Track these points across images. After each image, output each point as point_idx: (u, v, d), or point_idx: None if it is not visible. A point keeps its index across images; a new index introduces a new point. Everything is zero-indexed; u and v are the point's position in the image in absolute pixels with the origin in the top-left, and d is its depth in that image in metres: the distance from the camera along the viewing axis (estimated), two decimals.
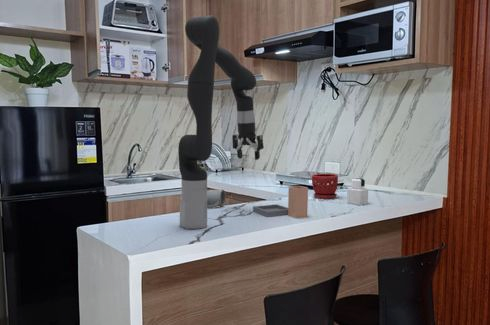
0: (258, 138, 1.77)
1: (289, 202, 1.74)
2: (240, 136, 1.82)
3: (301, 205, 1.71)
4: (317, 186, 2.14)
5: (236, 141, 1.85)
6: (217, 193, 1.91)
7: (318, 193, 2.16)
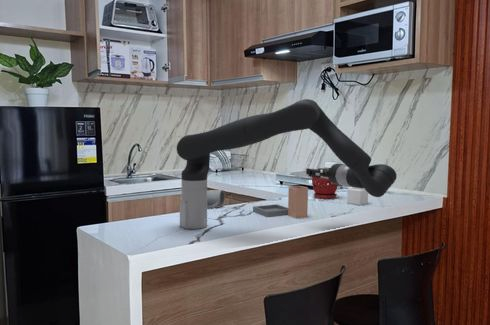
0: (317, 170, 1.51)
1: (289, 202, 1.74)
2: None
3: (301, 205, 1.71)
4: (317, 186, 2.14)
5: None
6: (216, 194, 1.90)
7: (318, 193, 2.16)
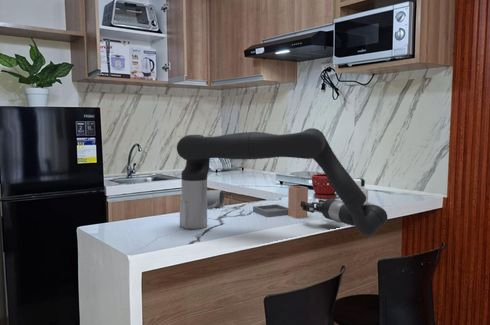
0: (311, 205, 1.55)
1: (289, 202, 1.74)
2: None
3: None
4: (317, 186, 2.14)
5: None
6: (216, 194, 1.90)
7: (318, 193, 2.16)
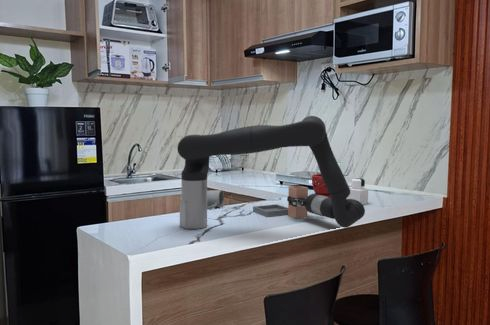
0: (294, 199, 1.65)
1: None
2: None
3: None
4: (317, 186, 2.14)
5: None
6: (215, 194, 1.89)
7: (318, 193, 2.16)
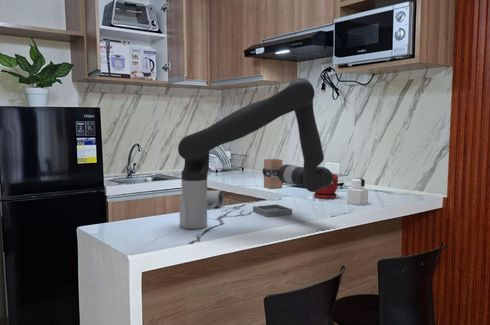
0: (268, 170, 1.70)
1: None
2: None
3: None
4: None
5: None
6: (215, 194, 1.89)
7: (318, 193, 2.16)
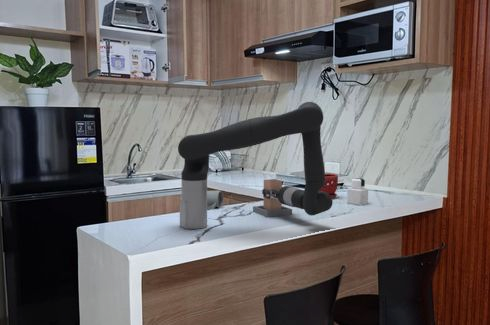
0: (267, 192, 1.71)
1: None
2: None
3: None
4: None
5: None
6: (214, 194, 1.88)
7: None
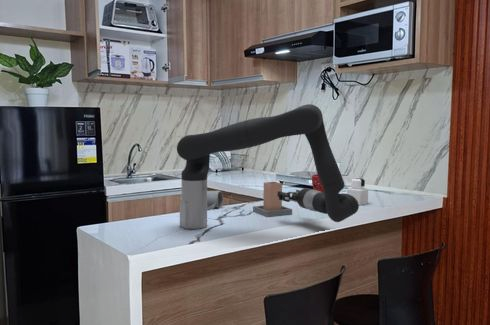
0: (287, 194, 1.58)
1: (264, 197, 1.80)
2: None
3: (275, 200, 1.77)
4: (317, 186, 2.14)
5: None
6: (214, 195, 1.88)
7: None
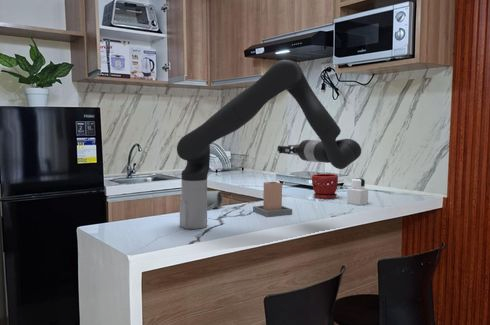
0: (287, 146, 1.53)
1: (264, 197, 1.80)
2: None
3: (275, 200, 1.77)
4: (317, 186, 2.14)
5: None
6: (213, 195, 1.87)
7: (318, 193, 2.16)
